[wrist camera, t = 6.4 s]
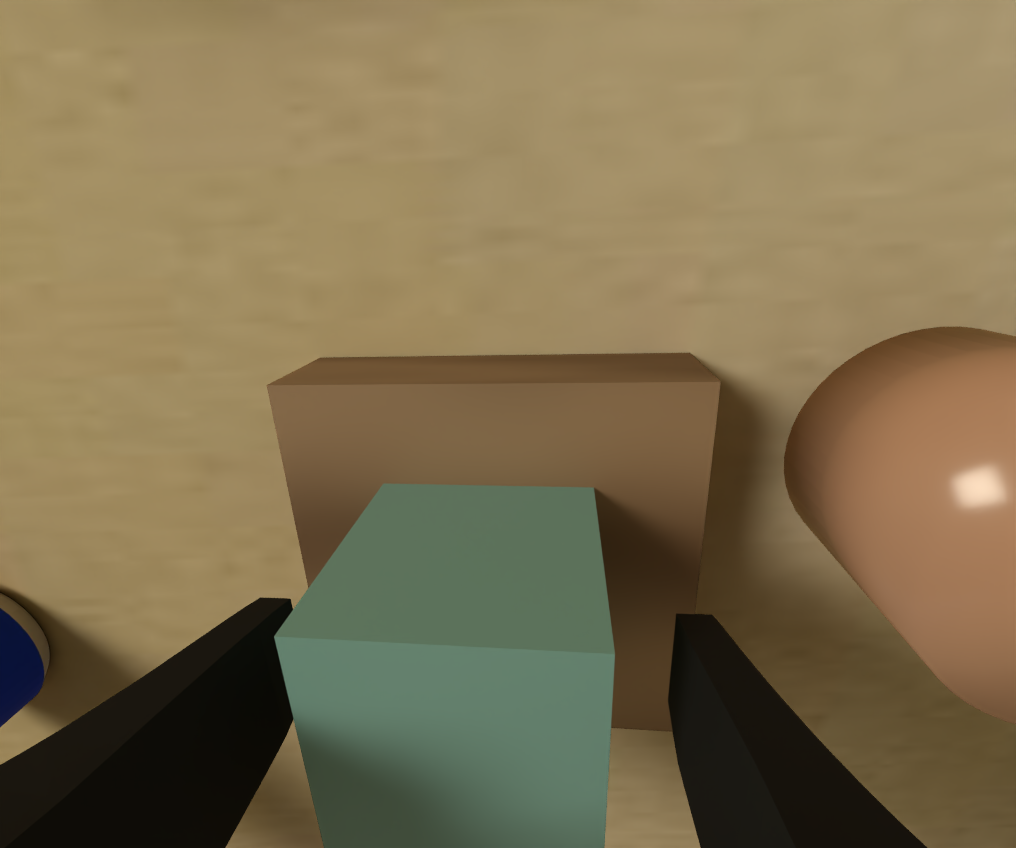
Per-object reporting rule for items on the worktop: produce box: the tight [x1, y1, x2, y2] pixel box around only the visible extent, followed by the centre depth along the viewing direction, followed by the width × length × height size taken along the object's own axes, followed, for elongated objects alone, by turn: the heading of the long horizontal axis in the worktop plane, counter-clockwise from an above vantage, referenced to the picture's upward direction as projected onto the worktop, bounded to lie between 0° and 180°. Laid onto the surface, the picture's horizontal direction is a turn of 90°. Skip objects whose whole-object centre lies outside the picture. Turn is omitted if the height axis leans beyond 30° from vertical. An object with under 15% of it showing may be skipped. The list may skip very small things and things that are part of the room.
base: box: [267, 353, 721, 732], centre depth 13 cm, size 9×9×2 cm
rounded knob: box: [784, 327, 1016, 724], centre depth 10 cm, size 6×6×5 cm
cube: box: [274, 484, 615, 848], centre depth 9 cm, size 4×4×4 cm
